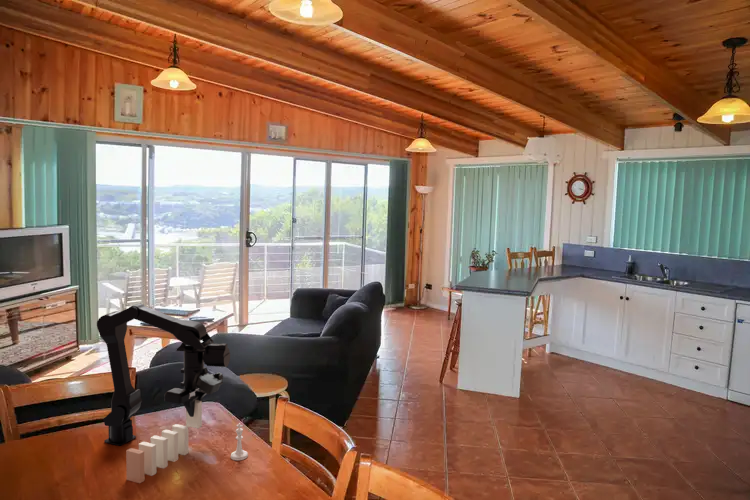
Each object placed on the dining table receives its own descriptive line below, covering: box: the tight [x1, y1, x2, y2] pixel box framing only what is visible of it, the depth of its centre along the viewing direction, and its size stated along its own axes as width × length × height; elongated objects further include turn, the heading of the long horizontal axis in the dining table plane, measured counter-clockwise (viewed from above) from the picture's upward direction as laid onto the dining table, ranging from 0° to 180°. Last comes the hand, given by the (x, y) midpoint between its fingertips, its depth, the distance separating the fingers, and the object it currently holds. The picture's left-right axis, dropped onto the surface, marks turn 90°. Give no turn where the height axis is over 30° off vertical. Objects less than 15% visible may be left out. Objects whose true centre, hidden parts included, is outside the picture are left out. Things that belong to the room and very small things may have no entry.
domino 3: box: [150, 434, 169, 469], centre depth 145 cm, size 4×2×8 cm, turn 69°
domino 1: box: [125, 447, 146, 484], centre depth 137 cm, size 4×2×8 cm, turn 69°
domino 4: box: [161, 429, 179, 462], centre depth 149 cm, size 4×2×8 cm, turn 69°
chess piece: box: [230, 422, 249, 461], centre depth 152 cm, size 5×5×10 cm
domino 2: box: [138, 441, 157, 477], centre depth 141 cm, size 4×2×8 cm, turn 69°
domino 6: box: [185, 400, 203, 430], centre depth 158 cm, size 4×2×8 cm, turn 69°
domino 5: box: [171, 423, 189, 456], centre depth 153 cm, size 4×2×8 cm, turn 69°
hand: (193, 415), depth 158 cm, fingers closed on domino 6, 2 cm apart
